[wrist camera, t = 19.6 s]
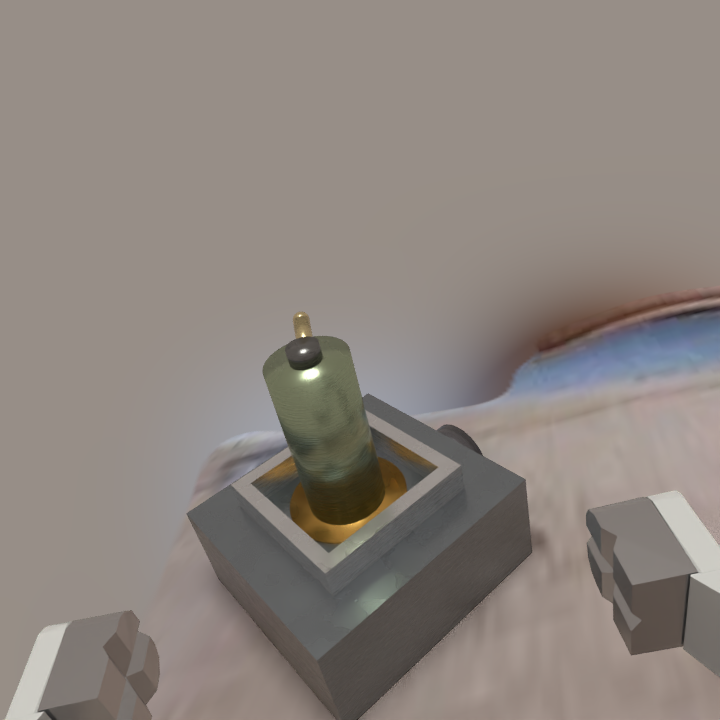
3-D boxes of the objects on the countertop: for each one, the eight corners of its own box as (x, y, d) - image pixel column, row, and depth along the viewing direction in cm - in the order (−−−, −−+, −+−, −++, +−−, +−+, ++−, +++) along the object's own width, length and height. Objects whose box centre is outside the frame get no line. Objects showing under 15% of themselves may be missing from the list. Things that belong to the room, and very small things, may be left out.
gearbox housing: (400, 444, 57) (381, 361, 52) (549, 535, 46) (543, 439, 41) (218, 578, 48) (176, 493, 44) (345, 730, 37) (307, 637, 32)
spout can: (389, 515, 40) (347, 351, 34) (310, 532, 41) (252, 372, 34) (379, 452, 46) (340, 299, 39) (308, 468, 46) (257, 318, 39)
